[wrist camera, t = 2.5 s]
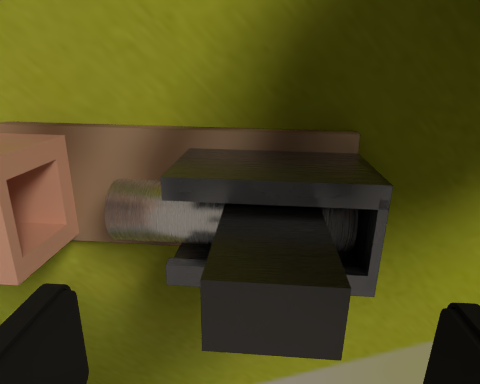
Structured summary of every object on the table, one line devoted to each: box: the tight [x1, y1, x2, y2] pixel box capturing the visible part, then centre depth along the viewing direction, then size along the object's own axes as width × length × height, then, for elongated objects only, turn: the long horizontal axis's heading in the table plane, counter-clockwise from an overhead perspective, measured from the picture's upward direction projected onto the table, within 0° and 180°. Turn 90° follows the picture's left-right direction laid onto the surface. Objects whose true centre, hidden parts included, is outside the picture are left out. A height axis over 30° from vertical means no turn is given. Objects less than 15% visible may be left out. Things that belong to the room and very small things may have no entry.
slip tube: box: [105, 178, 358, 360], centre depth 14 cm, size 11×3×9 cm, turn 89°
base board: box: [0, 122, 360, 246], centre depth 20 cm, size 20×7×1 cm, turn 89°
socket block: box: [0, 133, 79, 285], centre depth 18 cm, size 4×6×6 cm, turn 179°
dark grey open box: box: [160, 148, 393, 297], centre depth 17 cm, size 9×5×6 cm, turn 89°
